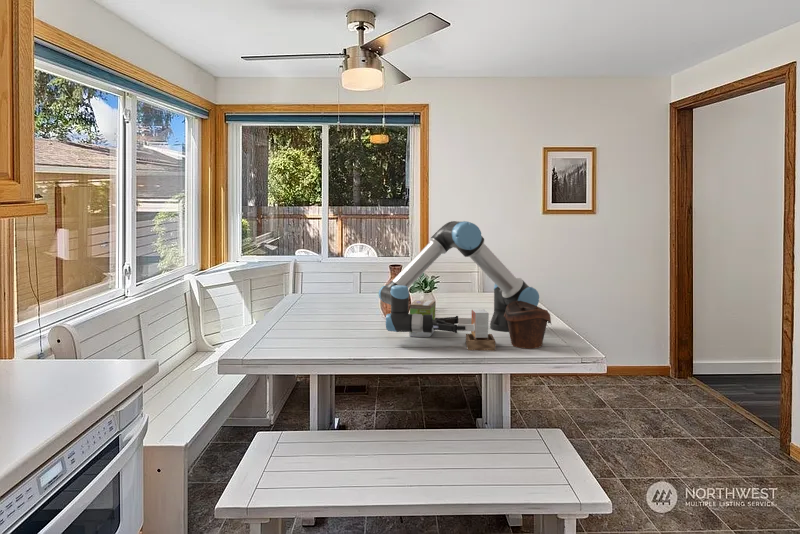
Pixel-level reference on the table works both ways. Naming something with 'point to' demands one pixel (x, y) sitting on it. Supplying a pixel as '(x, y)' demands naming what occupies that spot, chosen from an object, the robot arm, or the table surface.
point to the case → (526, 324)
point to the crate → (480, 343)
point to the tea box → (422, 308)
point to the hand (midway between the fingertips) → (473, 324)
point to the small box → (480, 323)
